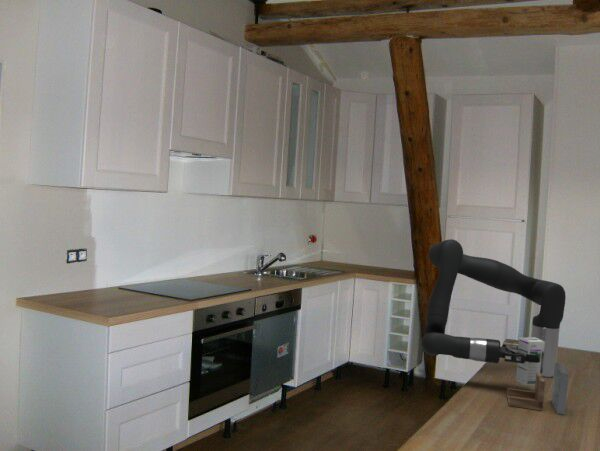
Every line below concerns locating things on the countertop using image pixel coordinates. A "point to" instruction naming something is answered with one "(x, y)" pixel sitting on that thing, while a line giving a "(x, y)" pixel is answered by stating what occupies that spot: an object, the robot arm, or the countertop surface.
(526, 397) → the cradle
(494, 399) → the countertop surface
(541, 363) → the syrup box
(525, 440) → the countertop surface
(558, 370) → the plate
